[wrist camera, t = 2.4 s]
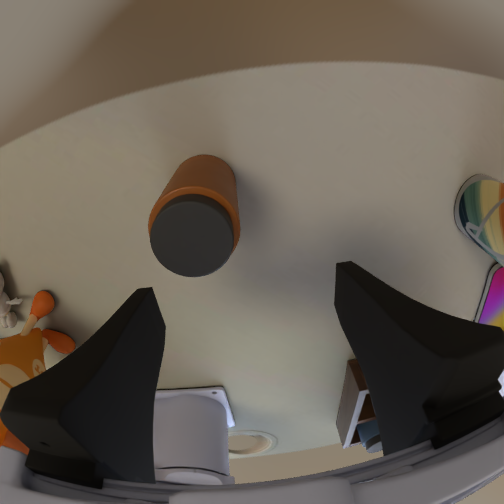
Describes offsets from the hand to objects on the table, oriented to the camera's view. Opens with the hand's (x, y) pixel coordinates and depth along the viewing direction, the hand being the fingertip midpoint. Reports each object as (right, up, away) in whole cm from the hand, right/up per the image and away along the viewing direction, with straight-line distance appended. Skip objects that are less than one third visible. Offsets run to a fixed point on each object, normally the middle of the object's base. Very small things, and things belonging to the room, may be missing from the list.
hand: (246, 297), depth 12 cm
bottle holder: (+14, -14, +20) cm, 28 cm away
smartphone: (+29, -5, +16) cm, 34 cm away
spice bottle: (-3, +6, +7) cm, 10 cm away
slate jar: (+14, -17, +21) cm, 31 cm away
